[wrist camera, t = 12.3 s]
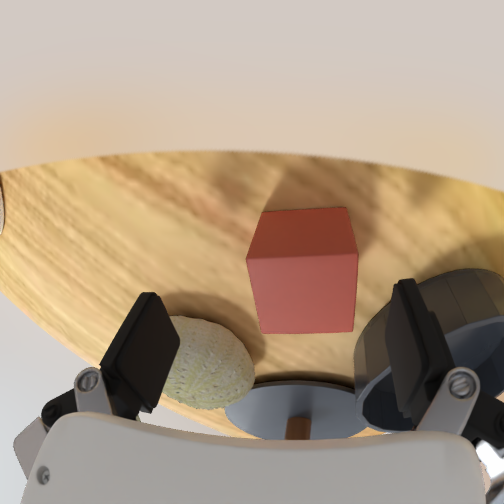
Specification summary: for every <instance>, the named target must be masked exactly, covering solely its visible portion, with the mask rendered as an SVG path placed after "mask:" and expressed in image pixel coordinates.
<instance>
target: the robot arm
mask: <svg viewBox="0 0 504 504" xmlns="http://www.w3.org/2000/svg"><path fill="white" fill-rule="evenodd" d="M3 223H4V207H3V198H2V192H1V187H0V234H1V232H2V229H3ZM385 343H386V347H387V352H388V356H389V361H390V366H391V371H392V376H393V382H394V387H395V393H396V399H397V406H398V410H399V412H403V417H404V418H408V417H411V419H412V423H413V424H414V426H413V427H412V429H411V430H410V432H401V433H392V434H383V435H375V436H365V437H354V438H341V439H324V440H266V439H248V438H236V437H225V436H216V435H208V434H201V433H194V432H188V431H182V430H176V429H171V428H166V427H160V426H156V425H151V424H147V423H142V422H141V421H140V418H139V416H138V414H139V411H141V412H146V413H150V414H151V413H152V410H153V408H155V407H156V406H157V404H158V401H159V399H160V396H161V393H162V391H163V388H164V385H165V383H166V380H167V377H168V375H169V372H170V370H171V367H172V364H173V362H174V359H175V357H176V354H177V351H178V349H179V346H180V337H179V335H178V333H177V331H176V329H175V327H174V325H173V323H172V321H171V319H170V317H169V315H168V313H167V310H166V308H165V306H164V304H163V302H162V300H161V298H160V296H157V294H156V293H155V292H143V293H141V294H140V295H139V297H138V299H137V300H136V302H135V304H134V305H133V307H132V309H131V310H130V312H129V314H128V315H127V317H126V319H125V320H124V322H123V324H122V325H121V327H120V329H119V330H118V332H117V334H116V336H115V337H114V339H113V341H112V343H111V344H110V346H109V348H108V350H107V351H106V353H105V355H104V357H103V359H102V360H101V362H100V364H99V365H100V366H101V368H100V370H99V369H98V368H95V367H89V368H86V369H84V370H83V371H81V372H80V373H79V374H78V375H77V377H76V379H75V382H74V388H73V389H72V390H70V391H68V392H66V393H64V394H62V395H60V396H58V397H56V398H54V399H52V400H50V401H49V402H48V403H46V405H45V406H44V407H43V409H42V413H41V418H40V417H37V418H36V419H35V420H34V421H33V422H32V423H31V424H30V425H29V426H27V427H26V428H25V429H24V430H23V431H22V432H21V433H20V434H19V435H18V436H17V437H16V438H15V440H14V446H13V447H14V451H15V453H16V456H17V458H18V460H19V463H20V465H21V467H22V469H23V471H24V474H25V476H26V478H27V480H28V481H27V484H26V487H25V490H24V493H23V497H22V501H21V504H504V403H503V402H502V401H500V400H498V399H496V398H495V397H493V396H491V395H489V394H487V393H486V392H484V391H482V390H480V380H479V378H478V376H477V375H476V373H475V372H474V371H472V370H471V369H469V368H466V367H457V368H456V366H455V363H454V360H453V358H452V355H451V352H450V349H449V346H448V344H447V341H446V339H445V336H444V333H443V331H442V328H441V326H440V323H439V321H438V319H437V316H436V314H435V312H434V311H432V310H431V311H428V309H427V307H426V304H425V302H424V300H423V298H422V295H421V293H420V291H419V288H418V286H417V284H416V282H415V280H414V279H413V278H411V279H401V280H399V281H398V284H394V287H393V293H392V298H391V304H390V309H389V314H388V319H387V324H386V328H385ZM480 462H482V463H483V464H484V465H485V466H486V469H485V470H486V472H487V473H488V474H489V476H490V478H491V485H490V488H489V490H488V492H487V493H486V495H485V487H484V479H483V473H482V468H481V465H480Z"/></svg>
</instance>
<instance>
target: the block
mask: <svg viewBox="0 0 504 504" xmlns="http://www.w3.org/2000/svg"><path fill="white" fill-rule="evenodd" d="M358 256H359V254H358V250H357V245H356V242H355V238H354V234H353V230H352V226H351V223H350V219H349V215H348V212H347V208H346V207H338V208H319V209H302V210H287V211H273V212H262V214H261V217H260V219H259V222H258V225H257V228H256V231H255V234H254V237H253V239H252V242H251V245H250V248H249V251H248V254H247V257H246V263H247V267H248V272H249V277H250V281H251V286H252V291H253V296H254V300H255V305H256V310H257V314H258V319H259V323H260V328H261V332H262V333H263V334H307V333H339V332H352V331H353V326H354V316H355V304H356V292H357V276H358Z"/></svg>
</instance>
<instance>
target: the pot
mask: <svg viewBox="0 0 504 504" xmlns="http://www.w3.org/2000/svg"><path fill="white" fill-rule="evenodd" d="M417 286H418V288H419V291H420V293H421V295H422V298H423V300H424V302H425V304H426V307H427V309H428V311H431V310H432V311H434V312H435V314H436V316H437V319H438V321H439V323H440V326H441V328H442V331H443V333H444V336H445V339H446V341H447V344H448V346H449V349H450V352H451V355H452V358H453V360H454V363H455V366H456V368H457V367H466V368H469V369H471V370H472V371H474V372H475V373H476V375H477V376H478V378H479V380H480V390H482V391H484V392H486V393H487V394H489V395H491V396H493V397H495V398H497V397H498V396H499V395H501V394H502V393H503V392H504V278H502V277H501V276H500V275H498V274H496V273H494V272H491V271H488V270H483V269H463V270H456V271H452V272H448V273H444V274H441V275H438V276H436V277H433V278H431V279H428V280H426V281H424V282H422V283H420V284H418V285H417ZM390 304H391V302H390V303H389V304H388V305H387V306H385V307H384V308H383V309H382V310H381V311H380V312H379V313H378V314H377V315H376V316H375V317H374V318H373V319H372V320H371V321H370V323H369V324H368V325H367V326H366V327H365V329H364V331H363V332H362V334H361V335H360V337H359V339H358V342H357V344H356V347H355V351H354V383H355V413H356V416H357V418H358V419H359V420H360V421H361V422H362V423H363V425H365V426H367V427H369V428H372V429H374V430H377V431H380V432H389V433H401V432H410V430H411V429H412V427H413V426H414V424H413V423H412V419H411V417H408V418H404V417H403V412H399V410H398V406H397V399H396V393H395V387H394V382H393V376H392V371H391V366H390V361H389V356H388V352H387V347H386V343H385V328H386V324H387V319H388V314H389V309H390Z"/></svg>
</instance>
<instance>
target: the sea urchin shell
mask: <svg viewBox="0 0 504 504" xmlns="http://www.w3.org/2000/svg"><path fill="white" fill-rule="evenodd" d="M169 317H170V319H171V321H172V323H173V325H174V327H175V329H176V331H177V333H178V335H179V337H180V346H179V349H178V351H177V354H176V357H175V359H174V362H173V364H172V367H171V370H170V372H169V375H168V377H167V380H166V383H165V385H164V388H163V391H162V392H163V393H165V394H166V395H167V396H168V397H170V398H173V399H175V400H177V401H179V402H180V403H184V404H186V405H188V406H190V407H193V408H196V409H207V410H210V409H214V408H216V409H217V408H220V407H221V408H224V407H225V406H229V405H231V404H234V403H237V402H239V401H240V400H242V399H243V398H244V397H246V395H247V394H248V393H249V391H250V390H251V389H252V386H253V385H254V384H253V383H254V382H255V378H256V377H255V372H254V364H253V362H252V359H251V358H250V355H249V354H248V352H247V349H246V348H245V345H244V344H243V343H242V341H240V340H239V339H238V338H237V337H236V336H235V335H234V334H233V333H232V332H231V330H228V329H226V328H225V327H223V326H222V325H220V324H217V323H212V322H208V321H206V320H203V319H202V318H201V319H193V318H188V317H185V316H181V315H179V316H169Z"/></svg>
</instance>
